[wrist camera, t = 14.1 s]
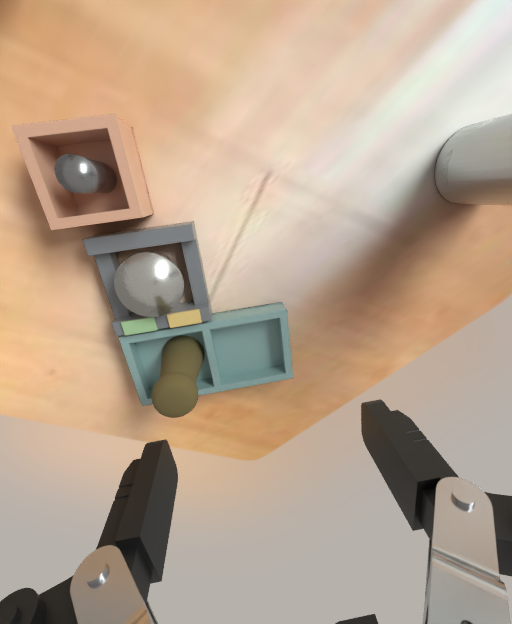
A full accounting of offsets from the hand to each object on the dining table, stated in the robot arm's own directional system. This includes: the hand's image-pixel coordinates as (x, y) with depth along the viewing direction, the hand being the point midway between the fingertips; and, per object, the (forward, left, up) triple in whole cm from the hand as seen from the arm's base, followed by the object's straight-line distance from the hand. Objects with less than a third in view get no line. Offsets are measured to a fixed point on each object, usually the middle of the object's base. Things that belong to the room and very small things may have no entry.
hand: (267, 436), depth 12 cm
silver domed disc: (+10, -1, -28) cm, 30 cm away
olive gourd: (+9, +11, -29) cm, 32 cm away
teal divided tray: (+5, +11, -30) cm, 32 cm away
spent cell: (+13, -13, -29) cm, 34 cm away
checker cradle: (+10, -1, -30) cm, 31 cm away
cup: (+13, -13, -30) cm, 34 cm away
